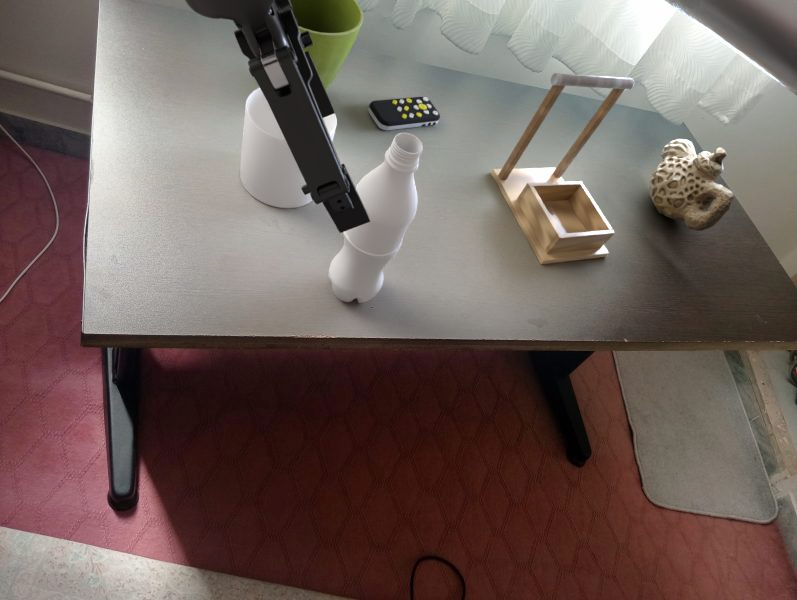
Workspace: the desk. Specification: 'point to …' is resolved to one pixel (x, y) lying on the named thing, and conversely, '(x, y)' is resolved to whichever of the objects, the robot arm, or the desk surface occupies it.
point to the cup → (271, 157)
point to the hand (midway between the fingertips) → (336, 166)
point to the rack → (559, 185)
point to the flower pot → (328, 32)
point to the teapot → (690, 185)
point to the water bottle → (378, 222)
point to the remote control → (403, 113)
